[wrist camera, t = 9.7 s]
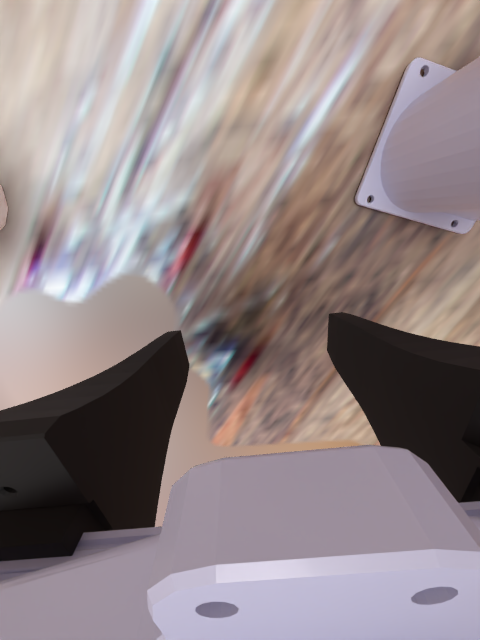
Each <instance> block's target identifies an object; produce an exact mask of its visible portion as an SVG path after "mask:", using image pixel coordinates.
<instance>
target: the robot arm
mask: <svg viewBox="0 0 480 640" xmlns="http://www.w3.org/2000/svg"><path fill="white" fill-rule="evenodd" d="M421 69H423V70H424V76H423V77H422V76H421V75H420V70H421ZM368 196H371V201H370V203H368V202H367V198H368ZM355 202H356V204H358V205H360V206H364V207H367V208H371V209H374V210H378V211H381V212H385V213H388V214H392V215H395V216H399V217H402V218H406V219H409V220H413V221H416V222H420V223H423V224H427V225H430V226H434V227H437V228H441V229H444V230H448V231H451V232H455V233H458V234H465V233H467V232H469V231H470V229H471V228H472V226H473V225H474V223H475V222H476V221H480V56H479V57H478V58H476V59H475V60H473V61H472V62H470V63H469V64H467V65H466V66H464V67H463V68H461V69H460V70H458V71H456V70H453V69H450V68H448V67H445V66H442V65H440V64H437V63H434V62H432V61H429V60H426V59H424V58H420V57H418V58H415V59H414V60H413V61H412V62H411V63H410V64H409V65H408V66H407V68H406V70H405V72H404V75H403V77H402V80H401V82H400V85H399V87H398V90H397V92H396V95H395V97H394V100H393V103H392V105H391V108H390V110H389V113H388V115H387V118H386V120H385V123H384V125H383V128H382V130H381V133H380V135H379V138H378V140H377V143H376V146H375V148H374V151H373V153H372V156H371V158H370V161H369V163H368V166H367V168H366V171H365V173H364V176H363V178H362V181H361V183H360V186H359V188H358V191H357V194H356V196H355ZM453 221H454V224H453V225H452V226H451V223H452V222H453ZM327 351H328V353H329V356H330V358H331V360H332V362H333V364H334V366H335V368H336V370H337V371H338V373H339V374H340V376H341V378H342V379H343V381H344V382H345V384H346V385H347V387H348V388H349V390H350V391H351V393H352V394H353V396H354V397H355V399H356V400H357V402H358V403H359V405H360V406H361V408H362V410H363V411H364V413H365V415H366V417H367V419H368V421H369V423H370V425H371V426H372V428H373V430H374V432H375V434H376V436H377V438H378V440H379V442H380V445H381V446H376V445H362V446H351V447H340V448H328V449H317V450H307V451H295V452H284V453H274V454H263V455H252V456H240V457H228V458H221V459H218V460H214V461H211V462H207V463H203V464H200V465H196V466H194V467H193V468H191V469H190V470H189V471H187V472H186V473H185V474H184V475H183V476H182V477H181V478H180V479H179V480H178V481H177V482H175V483H174V485H172V489H171V492H170V496H169V501H168V505H167V509H166V513H165V517H164V521H163V526H162V527H155V520H156V513H157V505H158V499H159V493H160V486H161V480H162V475H163V470H164V464H165V459H166V453H167V449H168V444H169V438H170V434H171V430H172V426H173V423H174V419H175V417H176V414H177V411H178V408H179V404H180V401H181V398H182V395H183V392H184V389H185V385H186V382H187V376H188V371H189V361H188V358H187V354H186V350H185V346H184V342H183V338H182V334H181V330H180V331H171V332H167V333H165V334H163V335H162V336H160V337H158V338H157V339H155V340H154V341H152V342H151V343H149V344H148V345H147V346H145V347H143V348H142V349H141V350H139V351H137V352H136V353H134V354H133V355H131V356H129V357H128V358H126V359H125V360H123V361H122V362H120V363H118V364H117V365H115V366H113V367H111V368H109V369H107V370H105V371H103V372H101V373H99V374H97V375H95V376H94V377H91V378H89V379H86V380H84V381H82V382H80V383H77V384H75V385H73V386H71V387H68V388H66V389H63V390H61V391H58V392H55V393H53V394H50V395H47V396H45V397H42V398H39V399H36V400H33V401H30V402H28V403H24V404H21V405H18V406H14V407H11V408H8V409H5V410H1V411H0V640H480V347H479V346H471V345H465V344H459V343H453V342H447V341H442V340H437V339H432V338H428V337H423V336H419V335H415V334H411V333H407V332H404V331H400V330H397V329H393V328H390V327H387V326H384V325H381V324H378V323H375V322H372V321H369V320H366V319H363V318H360V317H357V316H354V315H351V314H347V313H343V312H341V313H332V314H329V323H328V343H327Z"/></svg>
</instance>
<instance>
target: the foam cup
mask: <svg viewBox="0 0 480 640" xmlns="http://www.w3.org/2000/svg"><path fill="white" fill-rule="evenodd" d="M7 213H8V206H7V202H6V199H5V195H4V192H3V188H2V186H1V184H0V230H1V229H2V228H3V227H4V226H5V224H6V218H7Z"/></svg>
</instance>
